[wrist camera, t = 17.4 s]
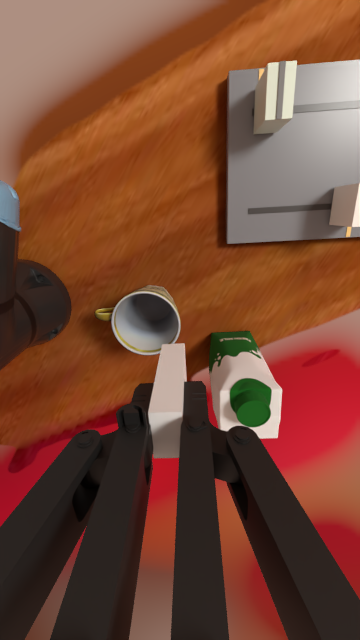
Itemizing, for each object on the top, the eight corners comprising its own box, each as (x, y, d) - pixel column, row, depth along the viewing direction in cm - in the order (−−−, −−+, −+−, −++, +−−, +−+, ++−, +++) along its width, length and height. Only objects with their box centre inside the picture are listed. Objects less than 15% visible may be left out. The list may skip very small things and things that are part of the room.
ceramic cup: (186, 279, 46) (185, 296, 37) (178, 332, 50) (175, 359, 40) (110, 269, 46) (90, 283, 36) (108, 322, 49) (90, 348, 40)
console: (225, 242, 43) (227, 243, 41) (227, 78, 36) (229, 70, 34) (366, 234, 42) (375, 236, 40) (400, 63, 34) (412, 54, 32)
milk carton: (254, 325, 49) (294, 396, 30) (252, 368, 52) (287, 455, 34) (206, 328, 49) (215, 399, 31) (207, 370, 53) (217, 457, 34)
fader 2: (329, 224, 40) (352, 227, 34) (334, 187, 38) (360, 182, 32) (350, 223, 39) (377, 225, 34) (356, 185, 38) (386, 181, 32)
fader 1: (253, 134, 36) (265, 119, 30) (255, 87, 34) (268, 62, 28) (276, 132, 36) (292, 117, 30) (279, 85, 34) (297, 59, 28)
